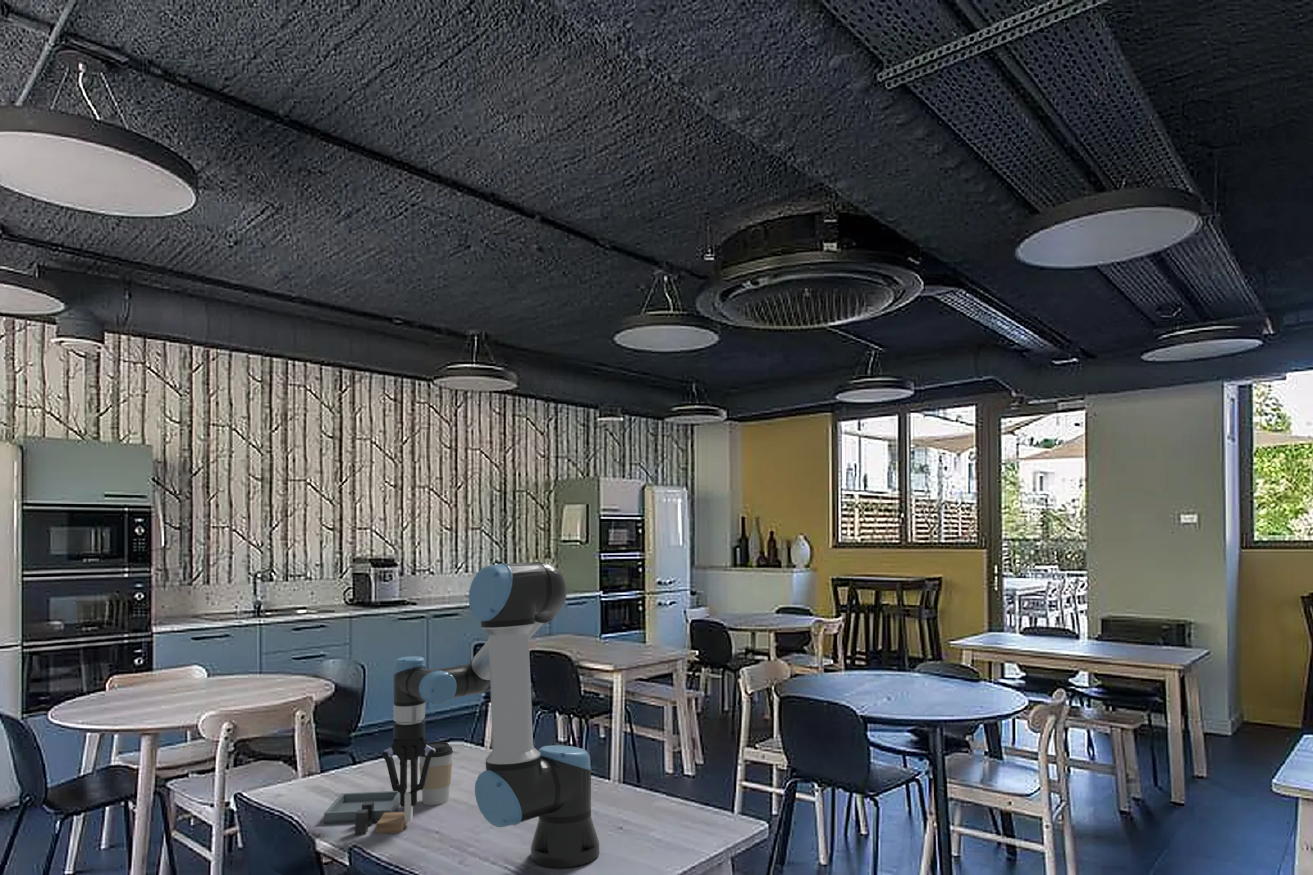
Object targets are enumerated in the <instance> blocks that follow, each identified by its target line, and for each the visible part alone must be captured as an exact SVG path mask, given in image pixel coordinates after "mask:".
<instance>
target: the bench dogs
mask: <svg viewBox="0 0 1313 875" xmlns="http://www.w3.org/2000/svg"><path fill="white" fill-rule="evenodd" d="M374 822H375V821H374V802H364V803H363V804H362V810H358V811H357V812H356V820H355V822H354V823H355V825H354V826H355V828H354V831H355V834H354V835H356V836H357V835H358V836H359V835H366V834H368V832H369V826H373V824H374Z"/></svg>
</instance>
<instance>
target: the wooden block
mask: <svg viewBox="0 0 1313 875" xmlns="http://www.w3.org/2000/svg"><path fill="white" fill-rule="evenodd" d="M408 823H409V821H406V822H404V811H396V812H391V813H384V814H383V815H382V817H381V818H380V820H379V821H377V822H376V834H392V833H395V834H396V833H403V831H404V830H405V828H406V827H407V824H408Z"/></svg>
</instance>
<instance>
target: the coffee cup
mask: <svg viewBox="0 0 1313 875" xmlns="http://www.w3.org/2000/svg"><path fill="white" fill-rule="evenodd" d="M427 745H428V746H430V747H431V748H435V749H436V751H435V753H434V754H433V756H432V758H431V762H430V766H429V770H428V774H427V778H426V782H425V786H424V788H423V789H422V790H421V797H422V798H421V800H422V804H424V805H426V806H439V805H443V804H446V803H447V802H449V801H450V800H449V799H450V789H451V782H452V781H451V780H452V769H453V753H454V750H453V747H452V746H451V745H450V743H449V742H446V741H433V742H427ZM418 758H419V763H418V764H419V776H420V778H421V774H422V770H423V765H424V761H425V758H426V755H425V750H423V752H422V753H421V755H420V756H419V757H418Z"/></svg>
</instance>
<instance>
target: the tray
mask: <svg viewBox="0 0 1313 875" xmlns="http://www.w3.org/2000/svg"><path fill="white" fill-rule="evenodd" d="M364 802H374V822H378V821H379V820H380V818H381V817H382V815H383V814H384V813H391V812H397V811H398V809H399V807H400V806H401V805H400V793H399V792H398V791H393V790H389V791H387V790H386V791H384V790H383V791H363V792H362V791H361V792H342V793H340V795H338V797H337V798H336V799H335V800H334V801H333V802H332V803H331V805H330V806H329V807H328V808H327V809H326V810H325V812H324V813H323V824H326V825H327V824H342V823H344V824H345V823H347V824H348V823H355V820H356V812H357V811H358V810H362V804H363V803H364Z"/></svg>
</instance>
